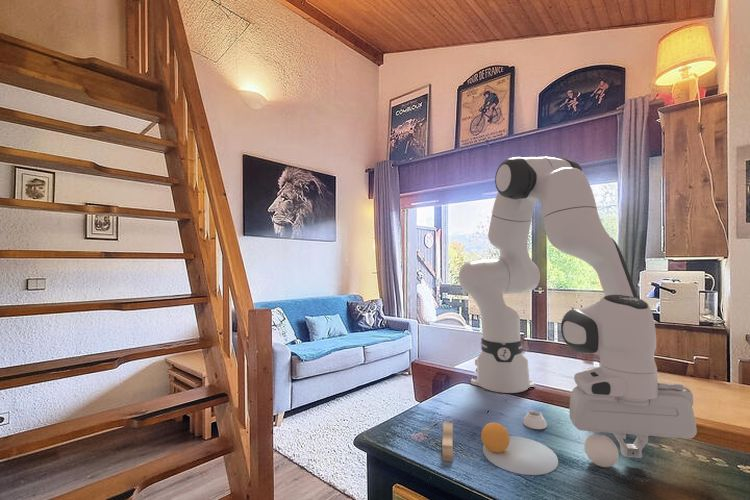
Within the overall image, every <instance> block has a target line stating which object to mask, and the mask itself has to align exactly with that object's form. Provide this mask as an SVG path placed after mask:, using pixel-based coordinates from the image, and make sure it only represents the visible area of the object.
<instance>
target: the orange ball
mask: <svg viewBox="0 0 750 500" xmlns="http://www.w3.org/2000/svg"><path fill="white" fill-rule="evenodd" d="M480 436H481V437H480V438H481V441H482V444H483V445H485V447H486V448H487V449H488V450H490V451H492V452H495V453H500V452H503V451H505V450H506V449H507V447H508V445H509V442H510V438H509V436H510V434H509V432H508V430H507V429H506V428H505V427H504V426H503V425H502V424H500V423H498V422H489V423H486V424H485V425H484V427H482V430H481V435H480Z"/></svg>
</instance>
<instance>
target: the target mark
mask: <svg viewBox="0 0 750 500" xmlns="http://www.w3.org/2000/svg"><path fill="white" fill-rule="evenodd" d="M509 438H510V442H509V445H508V447H507V449H506V450H505V451H503V452H500V453H495V452H492V451H490V450H488V449H487V448H486V447H485V445H484V444H483V445H482V452H483V455H484V457H485V458H486V459H487V460H488V461H489V463H491V464H493V465H494V466H495V467H498V468H500V469H503V470H504V471H508V472H510V473H514V474H517V475H526V476H540V475H546V474H549V473H551V472H553V471H554V470H556V469H557V468H558V466H559V458H558V456H557V454H556V453H555V452H554V451H553V450H552V449H551V448H549V447H548V446H546V445H544V444H543V443H541V442H539V441H537V440H533V439H531V438H528V437H527V438H526V437H521V436H514V435H513V436H512V435H509Z"/></svg>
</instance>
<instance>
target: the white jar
mask: <svg viewBox="0 0 750 500" xmlns="http://www.w3.org/2000/svg"><path fill="white" fill-rule="evenodd" d="M522 423H523V425H524V426H526V427H527V428H528V429H529V428H530V429H532V430H544V429H546V428H547V426H548V424H547V422H546V420H545V418H544V416H543V414H542V413H541V412H540V411H537V410H529V411H527V413H526V414H525V416H524V418H523V421H522Z"/></svg>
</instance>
